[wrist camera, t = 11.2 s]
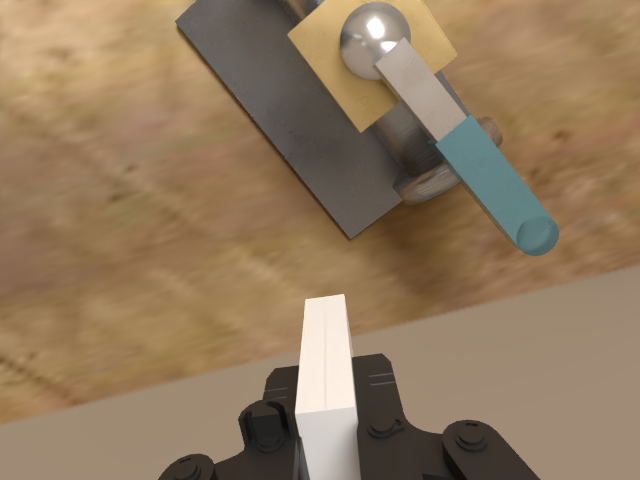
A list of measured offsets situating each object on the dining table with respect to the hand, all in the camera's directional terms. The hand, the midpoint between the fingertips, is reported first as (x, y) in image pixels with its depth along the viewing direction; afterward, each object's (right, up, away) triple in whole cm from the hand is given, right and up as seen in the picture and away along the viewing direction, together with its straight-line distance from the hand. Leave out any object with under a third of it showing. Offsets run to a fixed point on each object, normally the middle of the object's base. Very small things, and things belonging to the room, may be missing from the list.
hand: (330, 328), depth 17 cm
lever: (+8, +11, +13) cm, 19 cm away
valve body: (+1, +17, +21) cm, 27 cm away
